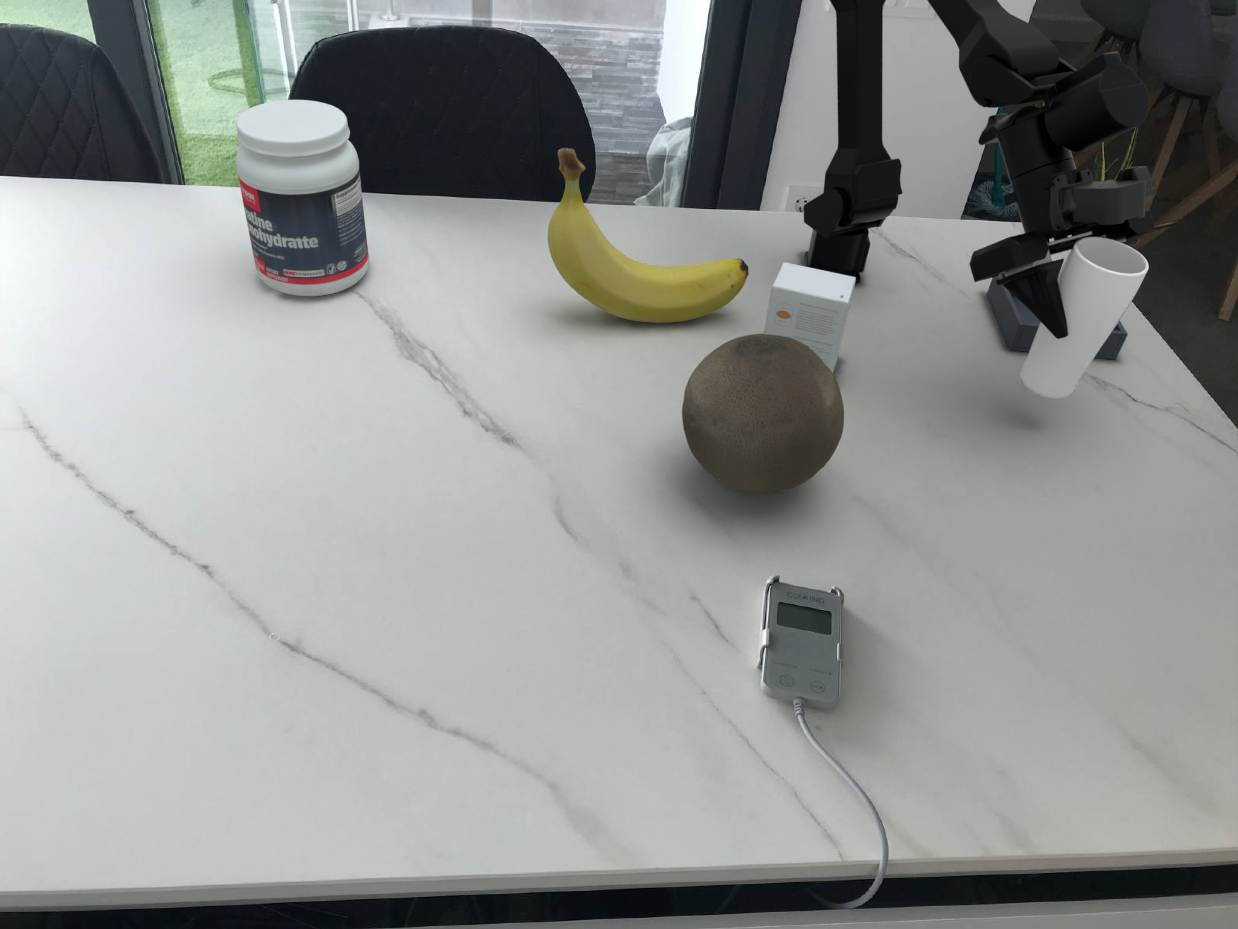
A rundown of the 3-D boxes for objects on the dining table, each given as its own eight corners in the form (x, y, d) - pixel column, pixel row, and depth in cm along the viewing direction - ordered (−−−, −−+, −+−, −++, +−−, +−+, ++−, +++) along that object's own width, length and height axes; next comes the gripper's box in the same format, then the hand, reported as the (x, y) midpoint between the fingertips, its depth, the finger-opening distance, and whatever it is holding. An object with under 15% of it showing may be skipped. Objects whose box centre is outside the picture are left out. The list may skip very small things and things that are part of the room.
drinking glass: (1067, 368, 101) (1135, 240, 91) (1087, 409, 96) (1161, 279, 86) (1003, 360, 101) (1064, 231, 91) (1020, 401, 96) (1086, 270, 86)
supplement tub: (236, 291, 111) (202, 132, 99) (289, 239, 120) (264, 89, 108) (343, 310, 109) (321, 152, 97) (388, 256, 119) (373, 106, 107)
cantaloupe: (697, 419, 98) (717, 289, 88) (836, 456, 95) (872, 326, 85) (654, 508, 88) (670, 372, 78) (808, 553, 85) (845, 417, 75)
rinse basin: (1009, 350, 112) (1019, 324, 110) (986, 294, 121) (994, 270, 119) (1115, 359, 112) (1128, 334, 109) (1084, 303, 121) (1095, 279, 119)
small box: (837, 360, 108) (858, 276, 101) (828, 388, 104) (850, 302, 97) (766, 343, 110) (783, 259, 103) (755, 369, 106) (771, 284, 99)
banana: (735, 302, 116) (762, 138, 103) (746, 329, 112) (775, 161, 98) (544, 304, 113) (547, 135, 100) (548, 332, 108) (551, 160, 95)
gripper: (1038, 152, 81) (1090, 332, 82) (1183, 123, 89) (1230, 288, 89) (945, 198, 91) (992, 358, 92) (1082, 168, 99) (1124, 317, 99)
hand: (1087, 330), depth 93 cm, fingers closed on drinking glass, 6 cm apart
